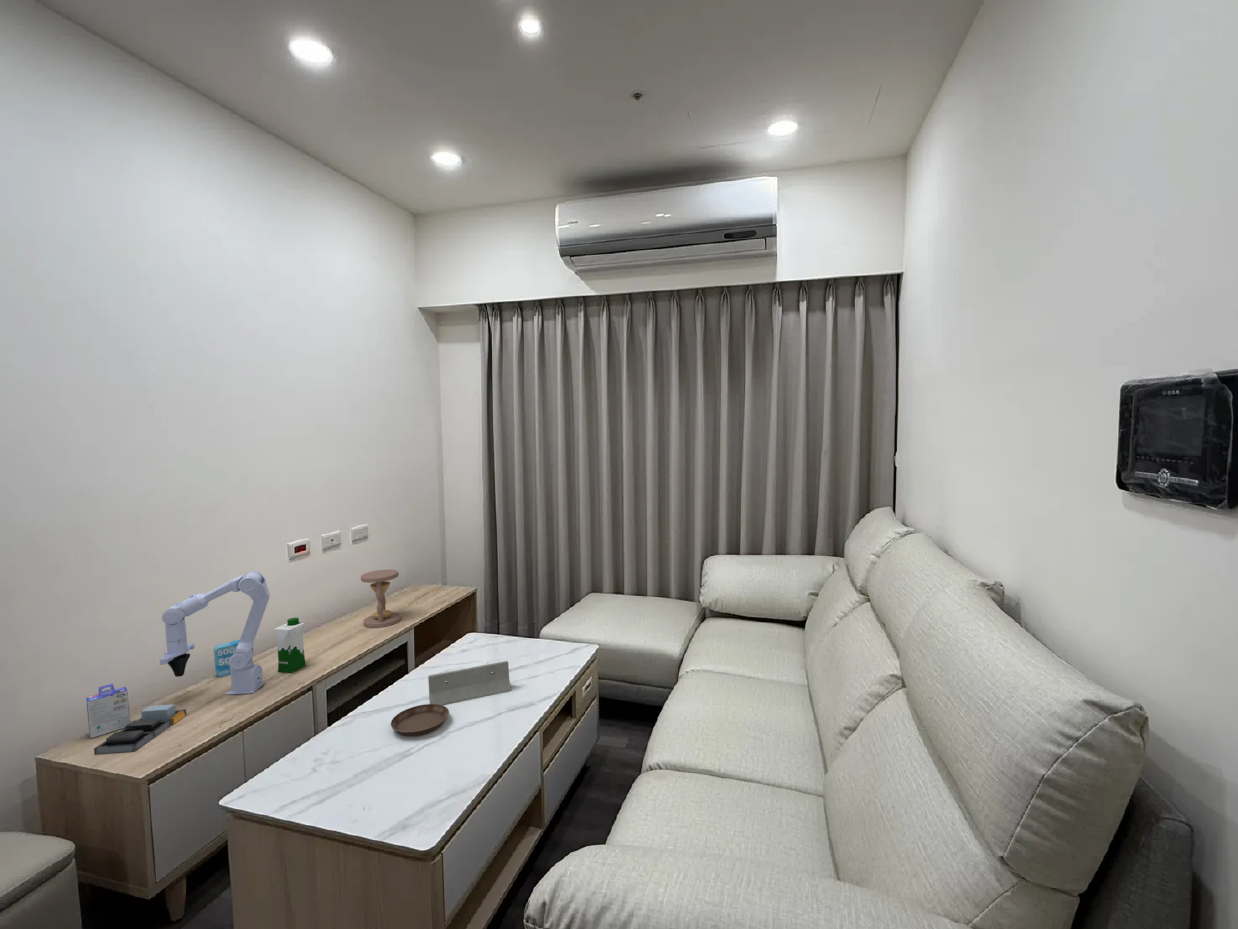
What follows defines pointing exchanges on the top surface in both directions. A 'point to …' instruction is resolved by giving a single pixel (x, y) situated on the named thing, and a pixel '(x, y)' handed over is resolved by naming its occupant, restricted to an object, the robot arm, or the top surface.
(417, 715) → the plant saucer
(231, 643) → the data package
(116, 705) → the ink cartridge box
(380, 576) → the hourglass
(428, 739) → the top surface
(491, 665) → the barrier
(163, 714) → the grey-blue rectangular block
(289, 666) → the milk carton
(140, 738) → the grey tray
